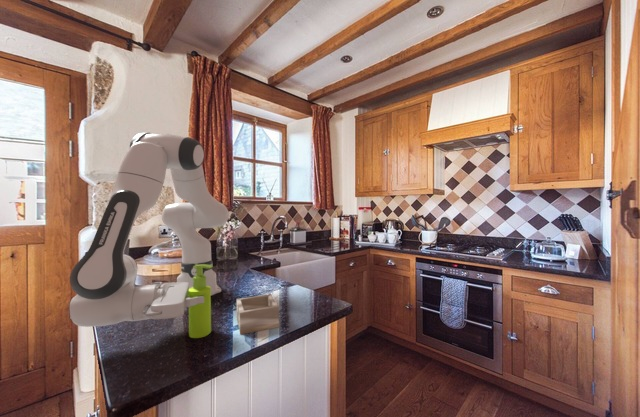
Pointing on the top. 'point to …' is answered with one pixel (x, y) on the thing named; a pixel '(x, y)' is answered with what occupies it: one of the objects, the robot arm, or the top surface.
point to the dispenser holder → (257, 313)
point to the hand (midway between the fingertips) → (204, 294)
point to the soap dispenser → (200, 305)
